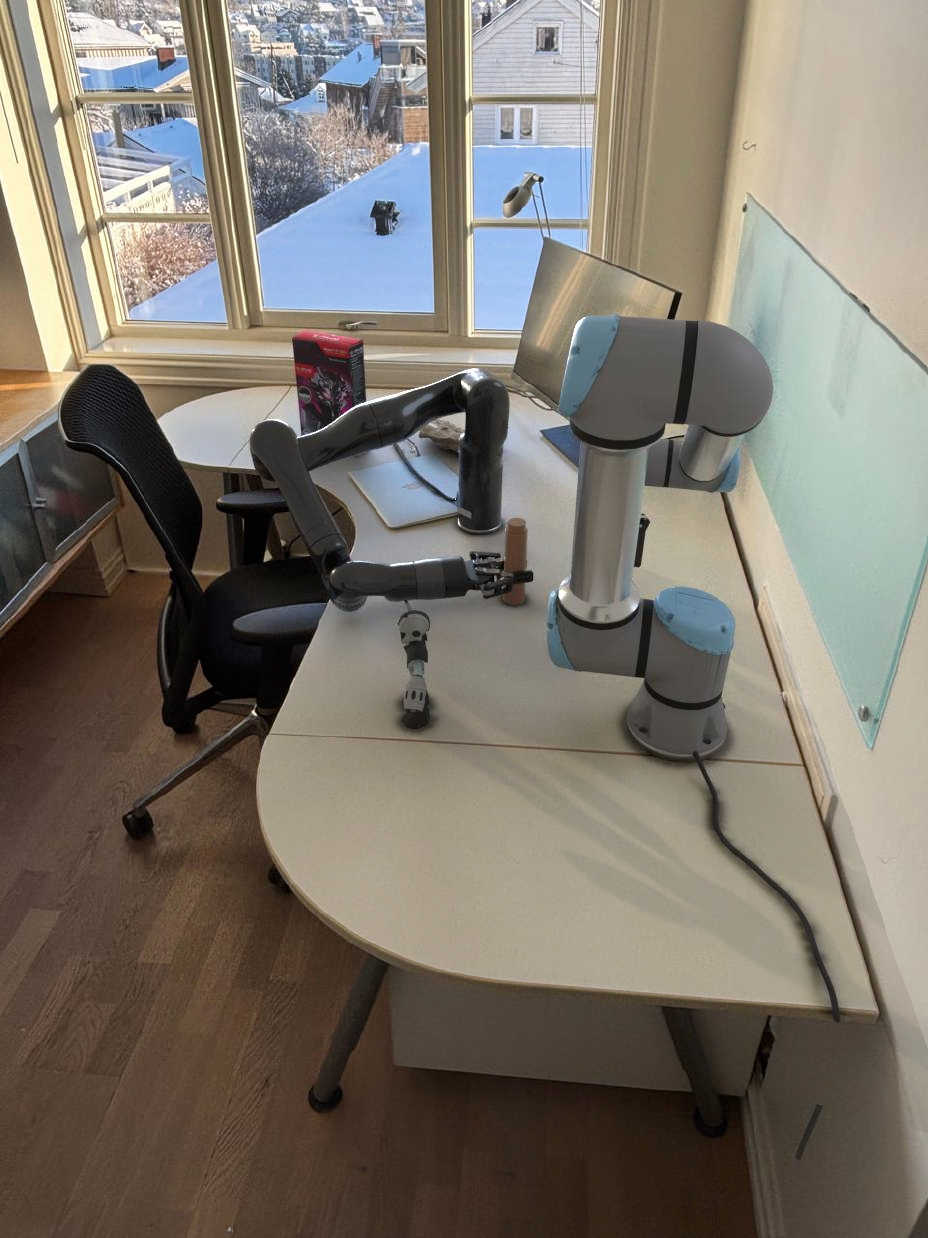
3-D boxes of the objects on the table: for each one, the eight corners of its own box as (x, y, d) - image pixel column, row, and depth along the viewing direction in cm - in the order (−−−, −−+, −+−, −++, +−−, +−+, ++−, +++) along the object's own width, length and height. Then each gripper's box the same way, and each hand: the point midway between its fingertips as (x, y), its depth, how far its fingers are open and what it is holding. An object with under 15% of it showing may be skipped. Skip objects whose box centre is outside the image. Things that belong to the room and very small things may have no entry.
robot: (432, 752, 138) (431, 644, 127) (400, 753, 138) (395, 645, 127) (430, 673, 154) (428, 571, 143) (401, 674, 154) (397, 571, 143)
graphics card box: (299, 442, 234) (289, 335, 219) (315, 433, 239) (306, 328, 224) (356, 456, 228) (349, 346, 213) (371, 446, 233) (365, 338, 218)
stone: (402, 443, 226) (407, 419, 224) (421, 434, 240) (426, 412, 237) (483, 468, 223) (489, 444, 220) (497, 458, 236) (503, 435, 234)
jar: (509, 591, 177) (512, 514, 167) (527, 597, 175) (532, 520, 166) (498, 601, 174) (501, 523, 164) (518, 607, 172) (521, 529, 163)
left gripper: (432, 576, 176) (519, 567, 179) (445, 616, 165) (538, 606, 168) (432, 541, 172) (521, 533, 175) (445, 580, 161) (540, 571, 163)
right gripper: (656, 474, 164) (641, 584, 177) (560, 481, 161) (552, 593, 174) (672, 492, 158) (655, 606, 171) (572, 501, 155) (563, 615, 168)
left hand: (529, 569), depth 171 cm, fingers closed on jar, 4 cm apart
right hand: (603, 599), depth 173 cm, fingers closed on lid, 5 cm apart
